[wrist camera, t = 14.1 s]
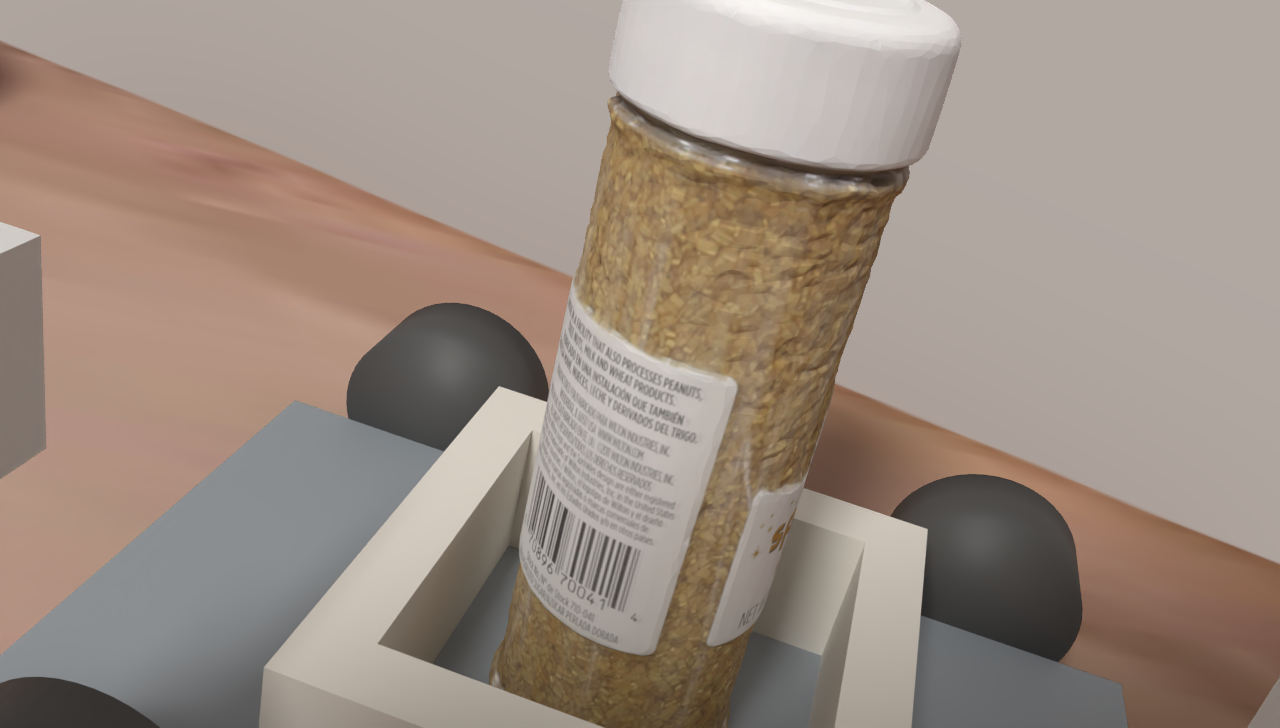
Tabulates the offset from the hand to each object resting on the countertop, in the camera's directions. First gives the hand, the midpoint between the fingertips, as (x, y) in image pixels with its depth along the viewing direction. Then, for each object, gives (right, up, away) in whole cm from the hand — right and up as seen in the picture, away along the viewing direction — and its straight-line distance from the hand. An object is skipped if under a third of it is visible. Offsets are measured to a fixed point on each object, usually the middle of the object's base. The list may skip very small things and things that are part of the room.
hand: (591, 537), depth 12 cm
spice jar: (0, -5, +10) cm, 11 cm away
